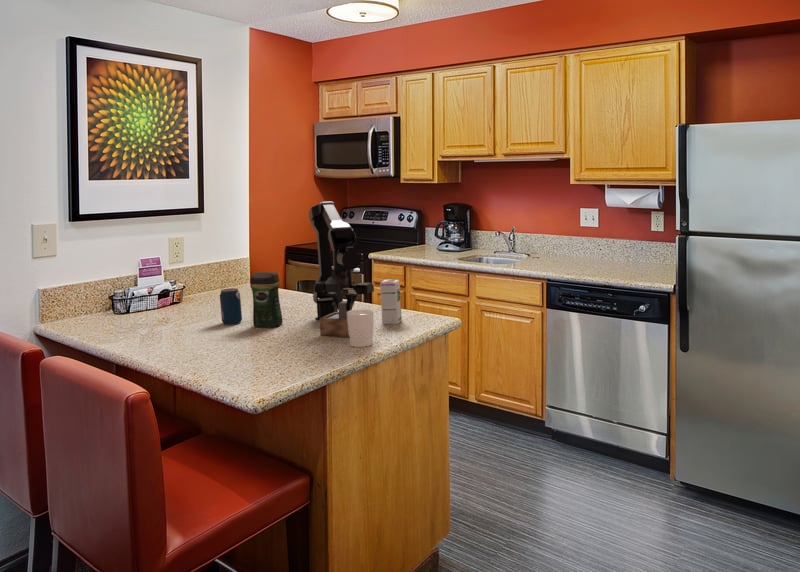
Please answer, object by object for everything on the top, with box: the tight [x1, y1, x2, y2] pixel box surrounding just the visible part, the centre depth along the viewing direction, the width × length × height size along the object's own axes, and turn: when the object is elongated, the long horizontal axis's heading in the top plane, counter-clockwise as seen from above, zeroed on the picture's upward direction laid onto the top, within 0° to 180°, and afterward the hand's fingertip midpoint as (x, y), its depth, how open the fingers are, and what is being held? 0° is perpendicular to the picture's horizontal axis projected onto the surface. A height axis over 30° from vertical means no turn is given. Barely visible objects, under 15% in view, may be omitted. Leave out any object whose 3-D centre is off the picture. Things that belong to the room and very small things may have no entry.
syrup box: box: [379, 278, 402, 325], centre depth 209 cm, size 6×6×14 cm
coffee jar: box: [249, 271, 283, 328], centre depth 210 cm, size 10×8×19 cm
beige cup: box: [347, 308, 374, 348], centre depth 182 cm, size 8×8×10 cm
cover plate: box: [329, 300, 347, 319], centre depth 196 cm, size 10×7×6 cm
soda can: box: [219, 287, 243, 326], centre depth 216 cm, size 7×7×12 cm
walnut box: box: [319, 311, 349, 338], centre depth 197 cm, size 12×10×6 cm
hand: (344, 314), depth 196 cm, fingers closed on cover plate, 2 cm apart
